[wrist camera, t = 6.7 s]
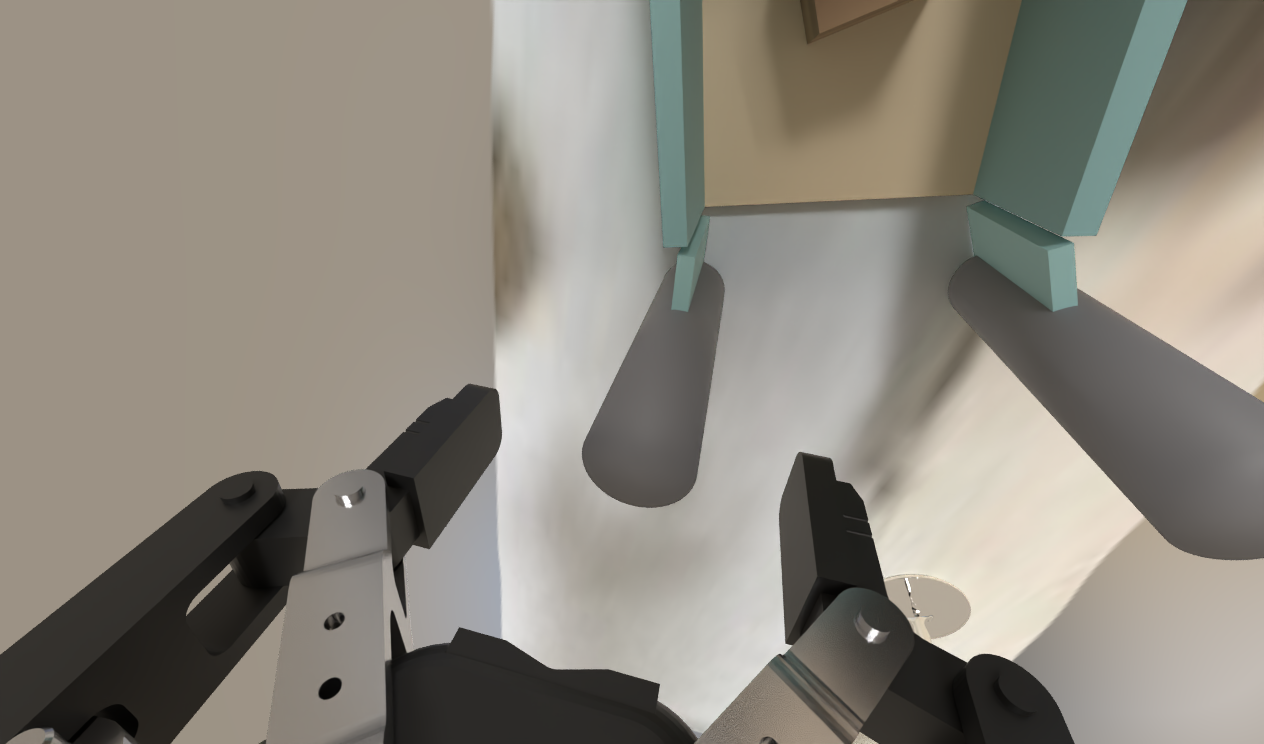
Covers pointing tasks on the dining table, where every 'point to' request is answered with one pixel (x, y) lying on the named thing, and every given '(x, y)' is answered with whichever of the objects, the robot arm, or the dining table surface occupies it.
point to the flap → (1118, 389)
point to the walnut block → (840, 14)
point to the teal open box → (904, 104)
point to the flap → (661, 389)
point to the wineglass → (929, 604)
